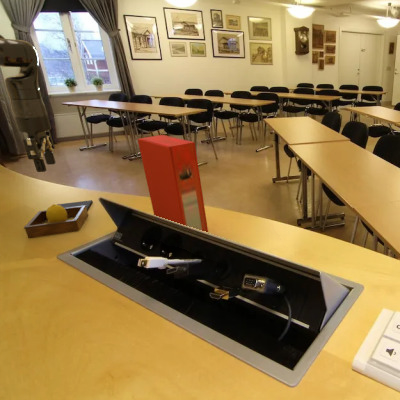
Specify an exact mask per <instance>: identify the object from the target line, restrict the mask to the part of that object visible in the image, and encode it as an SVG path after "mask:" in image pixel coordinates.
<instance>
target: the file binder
mask: <svg viewBox="0 0 400 400" xmlns="http://www.w3.org/2000/svg"><path fill="white" fill-rule="evenodd" d="M137 144H138V147H139V152H140V157H141V160H142V166H143V170H144V175H145V180H146V185H147V188H148V189H147V190H148V192H149V199H150V203H151V207H152V211H153V216H154V215H156V216H159V217H162V218H165V219H168V220H171V221H174V222H177V223H180V224H183V225H186V226H189V227H193V228H196V229H199V230H202V231H206V232H208V233H209V229H208V222H207V216H206V209H205V203H204V194H203V189H202V182H201V175H200V169H199V168H200V167H199V162H198V156H197V149H196V148H197V147H196V142H195V141H191V140H187V139H183V138H178V137H174V136H170V135H165V134H159V135H153V136H152V135H151V136H146V137H140V138H137Z"/></svg>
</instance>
